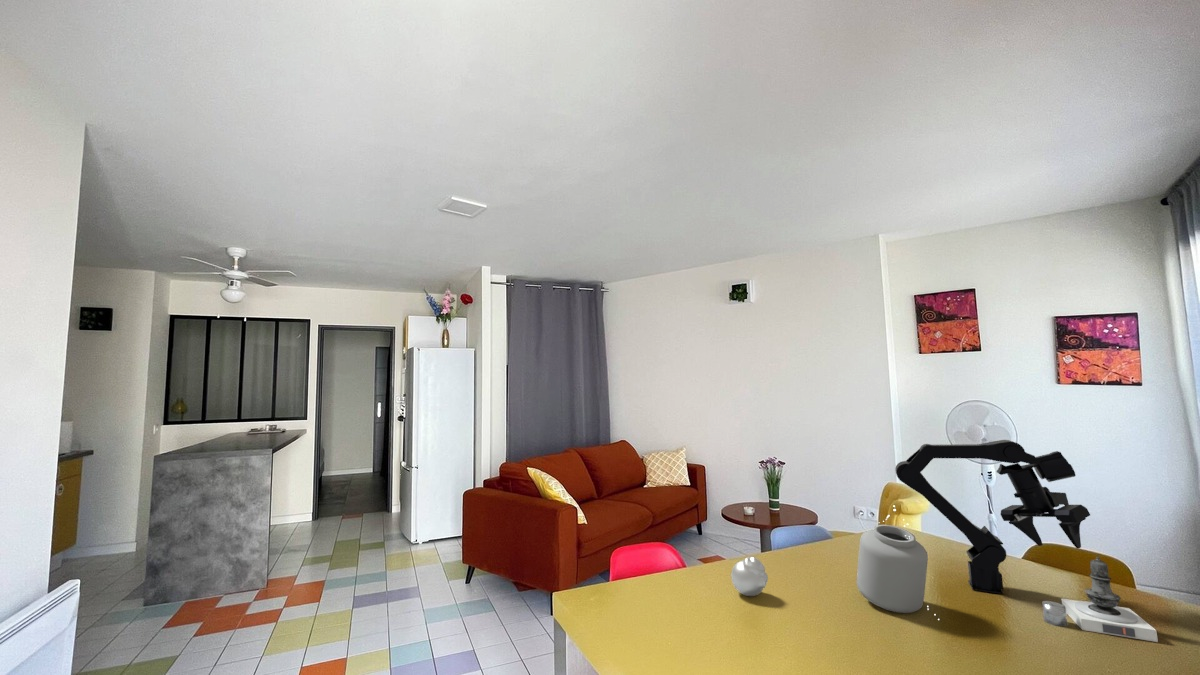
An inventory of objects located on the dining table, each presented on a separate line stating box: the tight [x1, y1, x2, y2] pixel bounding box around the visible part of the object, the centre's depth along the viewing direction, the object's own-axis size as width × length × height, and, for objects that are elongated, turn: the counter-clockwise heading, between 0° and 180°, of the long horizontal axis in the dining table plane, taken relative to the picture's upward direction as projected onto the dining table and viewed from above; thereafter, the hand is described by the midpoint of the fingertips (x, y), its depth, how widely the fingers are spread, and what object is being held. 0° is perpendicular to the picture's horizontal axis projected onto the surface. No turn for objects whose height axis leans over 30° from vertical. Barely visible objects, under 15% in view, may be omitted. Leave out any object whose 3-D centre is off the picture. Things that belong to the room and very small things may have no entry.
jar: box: [856, 505, 940, 621], centre depth 123 cm, size 19×15×25 cm
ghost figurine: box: [730, 556, 769, 597], centre depth 130 cm, size 9×10×10 cm
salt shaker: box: [1084, 555, 1121, 616], centre depth 113 cm, size 6×6×12 cm
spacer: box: [1041, 600, 1068, 628], centre depth 113 cm, size 4×4×4 cm
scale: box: [1061, 598, 1159, 643], centre depth 112 cm, size 12×13×3 cm
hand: (1059, 546), depth 126 cm, fingers open, 9 cm apart
